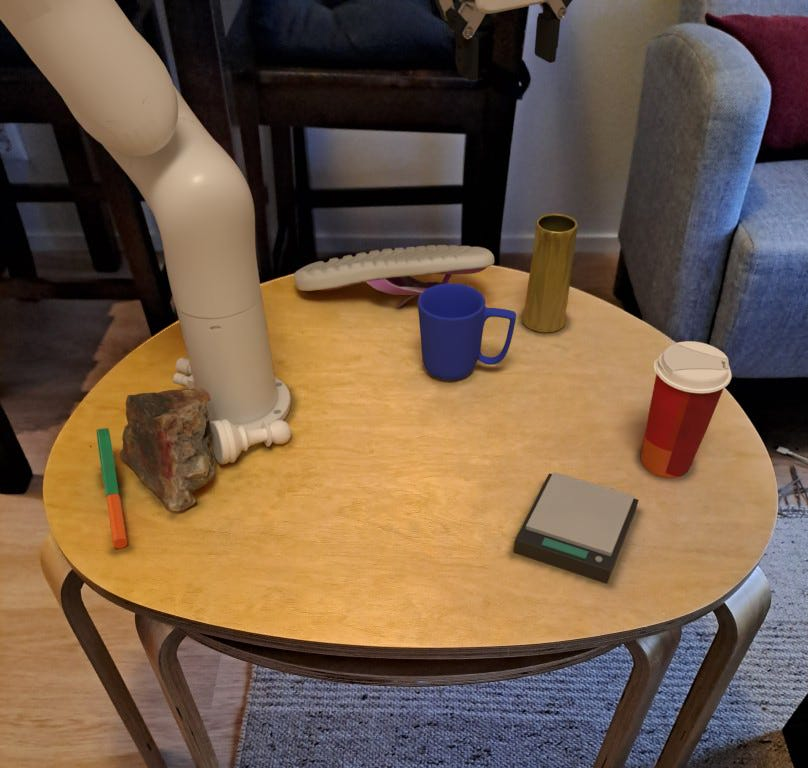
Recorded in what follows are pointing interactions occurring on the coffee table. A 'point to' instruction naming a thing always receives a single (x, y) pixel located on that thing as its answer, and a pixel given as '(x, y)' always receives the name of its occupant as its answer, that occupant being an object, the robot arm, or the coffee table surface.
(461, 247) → the sandal
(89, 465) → the coffee table surface
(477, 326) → the mug
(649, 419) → the paper cup
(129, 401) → the rock
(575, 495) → the scale
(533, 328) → the vase
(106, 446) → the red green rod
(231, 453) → the chess pawn
